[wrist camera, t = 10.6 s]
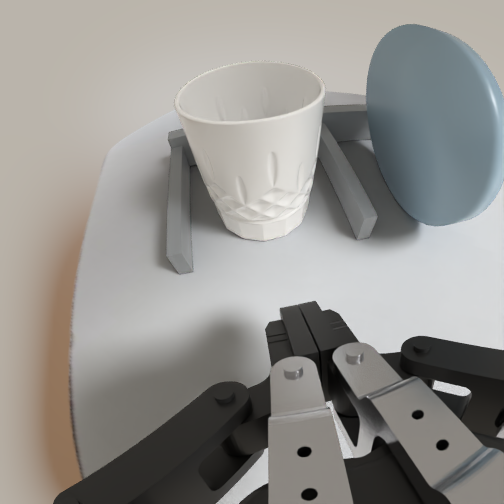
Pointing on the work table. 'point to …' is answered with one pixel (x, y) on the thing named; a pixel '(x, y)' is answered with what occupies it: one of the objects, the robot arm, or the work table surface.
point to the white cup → (255, 142)
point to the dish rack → (395, 138)
